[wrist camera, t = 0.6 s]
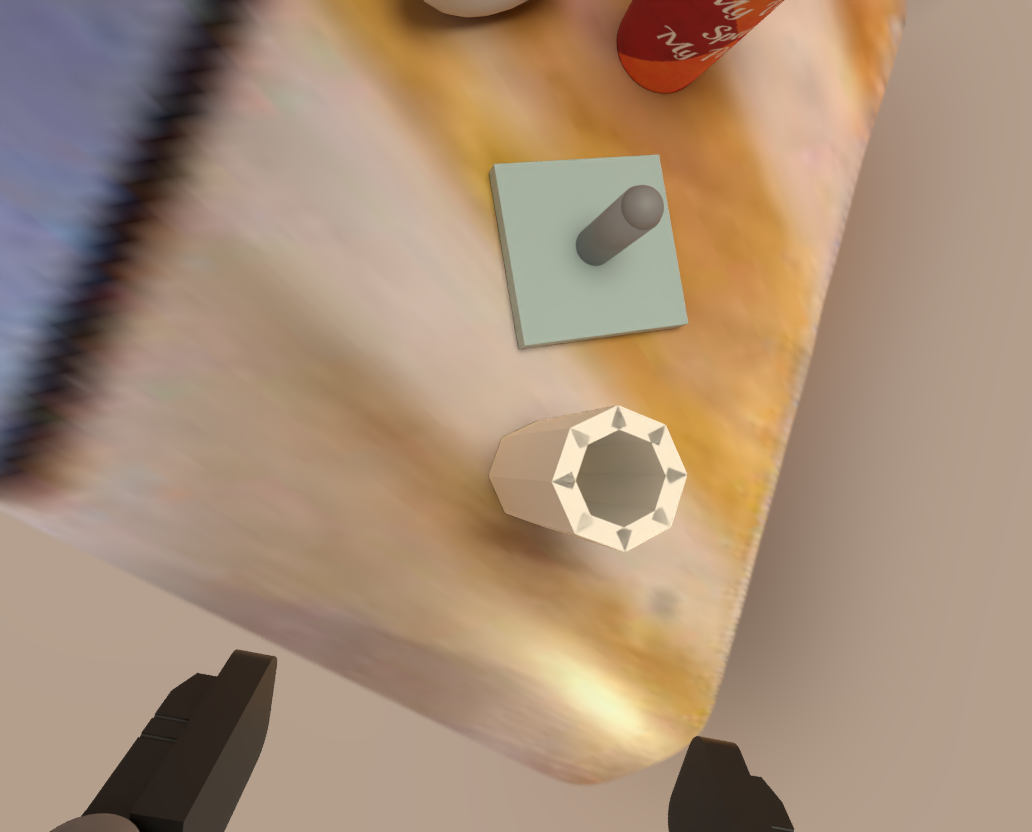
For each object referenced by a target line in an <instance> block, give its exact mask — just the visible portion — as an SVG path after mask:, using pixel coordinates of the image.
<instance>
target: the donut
mask: <svg viewBox="0 0 1032 832" xmlns="http://www.w3.org/2000/svg"><path fill="white" fill-rule="evenodd" d="M423 1H424V2H426V3H427V4H429V5H430V6H432V7H434V8H435V9H437V10H439V11H440V12H443V13H446V14H450V15H455V16H461V17H466V18H467V17H479V16H489V15H492V14H496V13H499V12H502V11H506V10H509V9H512V8H514V7H516V6H518V5H520V4H522V3H524V2H526V1H528V0H423Z"/></svg>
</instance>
